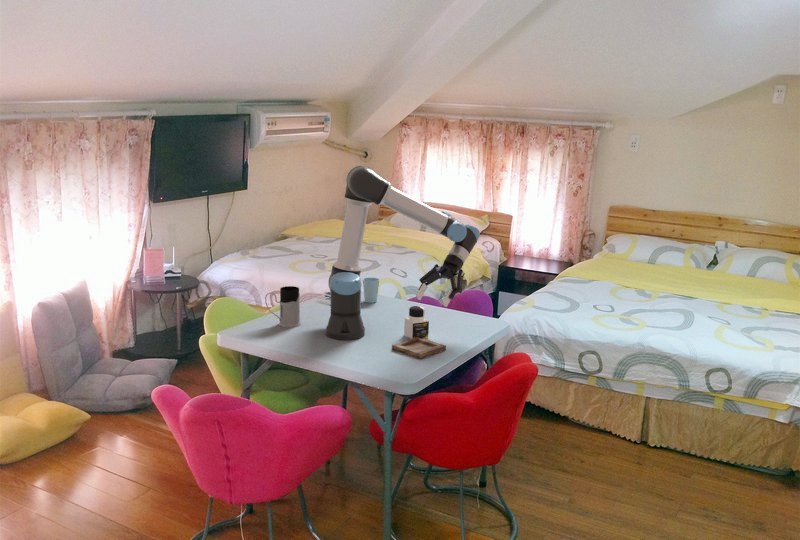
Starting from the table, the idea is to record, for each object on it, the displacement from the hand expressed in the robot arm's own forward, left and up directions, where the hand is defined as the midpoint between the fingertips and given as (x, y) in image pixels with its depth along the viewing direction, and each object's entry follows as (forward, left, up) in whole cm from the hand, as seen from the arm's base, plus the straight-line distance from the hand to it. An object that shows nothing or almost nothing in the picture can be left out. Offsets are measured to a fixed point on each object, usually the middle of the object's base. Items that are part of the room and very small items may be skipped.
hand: (430, 301), depth 275 cm
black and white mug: (-48, -35, -13) cm, 61 cm away
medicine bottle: (-1, -7, -13) cm, 15 cm away
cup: (-50, +17, -13) cm, 54 cm away
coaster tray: (+10, -18, -13) cm, 25 cm away
